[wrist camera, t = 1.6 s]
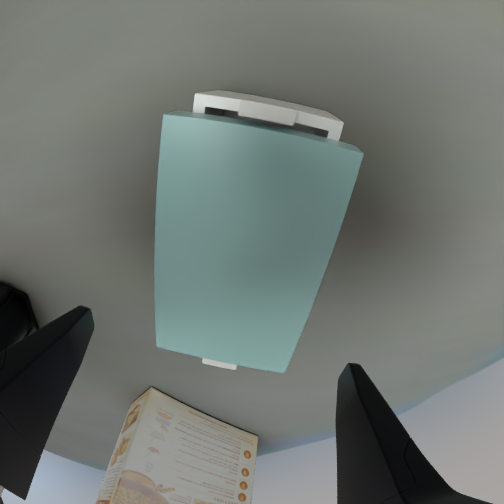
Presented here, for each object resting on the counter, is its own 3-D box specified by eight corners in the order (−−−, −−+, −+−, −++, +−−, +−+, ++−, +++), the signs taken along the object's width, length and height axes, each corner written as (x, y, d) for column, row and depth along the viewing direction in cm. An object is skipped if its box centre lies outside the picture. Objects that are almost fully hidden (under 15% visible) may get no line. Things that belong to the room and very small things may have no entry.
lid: (284, 353, 18) (284, 373, 17) (164, 328, 18) (156, 346, 17) (355, 145, 12) (363, 153, 10) (176, 110, 12) (163, 114, 10)
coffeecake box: (129, 403, 33) (82, 539, 17) (151, 384, 30) (97, 548, 14) (228, 448, 37) (207, 573, 21) (260, 435, 34) (244, 579, 17)
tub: (273, 308, 23) (269, 376, 18) (193, 292, 23) (169, 355, 18) (327, 109, 16) (350, 124, 10) (219, 88, 16) (186, 92, 10)
